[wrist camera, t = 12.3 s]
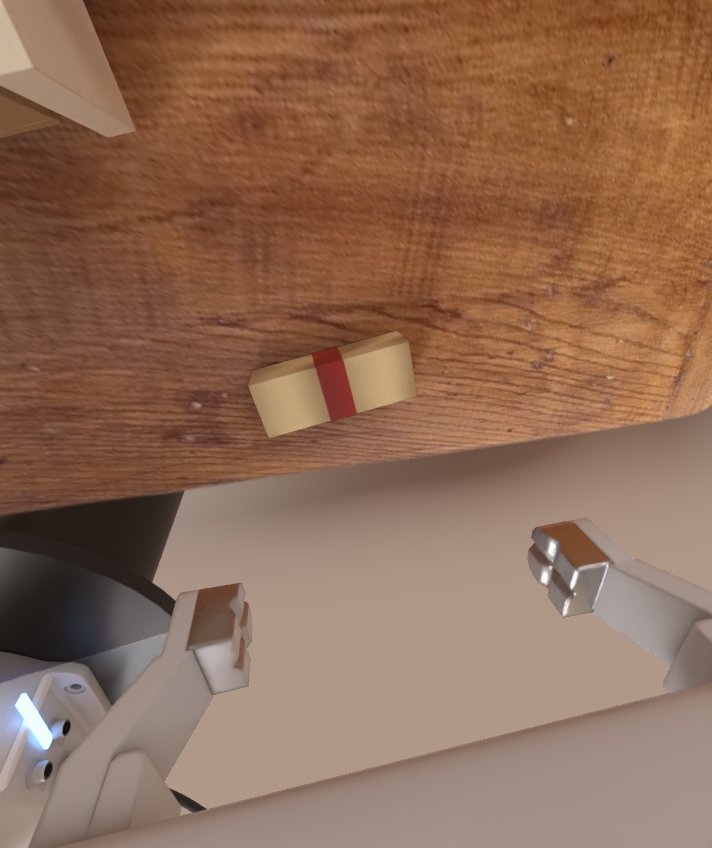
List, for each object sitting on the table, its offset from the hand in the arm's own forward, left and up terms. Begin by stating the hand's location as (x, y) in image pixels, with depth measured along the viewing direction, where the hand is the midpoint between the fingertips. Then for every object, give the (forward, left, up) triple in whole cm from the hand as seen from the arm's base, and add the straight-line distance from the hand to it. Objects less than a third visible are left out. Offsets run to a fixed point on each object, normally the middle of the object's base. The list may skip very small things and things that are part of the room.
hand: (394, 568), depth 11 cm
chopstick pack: (0, 0, -15) cm, 15 cm away
